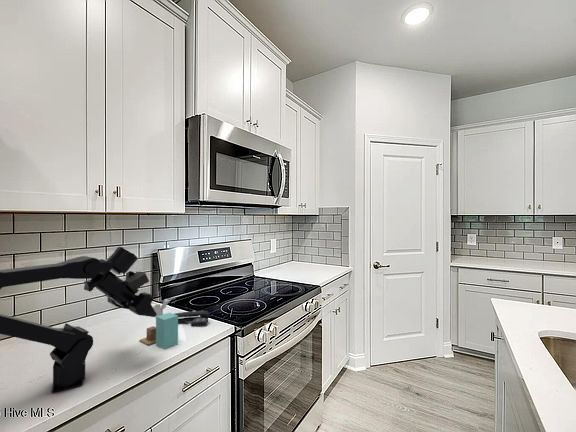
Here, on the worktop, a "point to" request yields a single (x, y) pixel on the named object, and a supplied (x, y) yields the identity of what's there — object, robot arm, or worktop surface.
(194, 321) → the can opener
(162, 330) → the teal rectangular block
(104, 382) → the worktop surface
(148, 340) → the brown pedestal
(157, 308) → the light grey forked piece
